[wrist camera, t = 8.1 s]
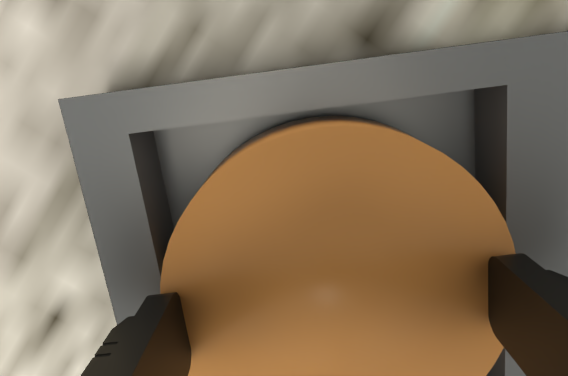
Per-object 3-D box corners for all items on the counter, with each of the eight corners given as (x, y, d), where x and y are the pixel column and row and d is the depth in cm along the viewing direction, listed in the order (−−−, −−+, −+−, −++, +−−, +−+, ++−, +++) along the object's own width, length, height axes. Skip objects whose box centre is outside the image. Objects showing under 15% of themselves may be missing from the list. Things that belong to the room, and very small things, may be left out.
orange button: (476, 95, 12) (521, 102, 10) (479, 373, 14) (516, 431, 12) (154, 137, 12) (124, 152, 10) (209, 401, 15) (195, 462, 12)
